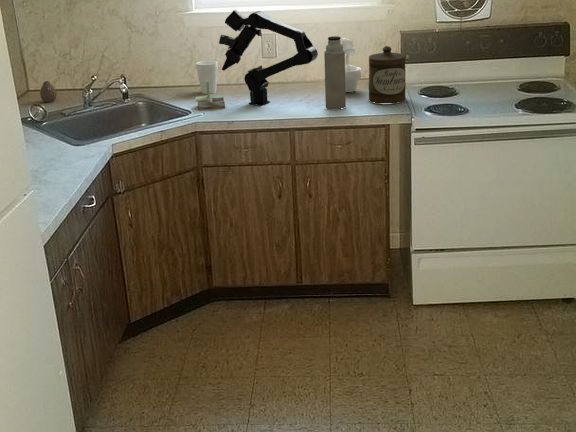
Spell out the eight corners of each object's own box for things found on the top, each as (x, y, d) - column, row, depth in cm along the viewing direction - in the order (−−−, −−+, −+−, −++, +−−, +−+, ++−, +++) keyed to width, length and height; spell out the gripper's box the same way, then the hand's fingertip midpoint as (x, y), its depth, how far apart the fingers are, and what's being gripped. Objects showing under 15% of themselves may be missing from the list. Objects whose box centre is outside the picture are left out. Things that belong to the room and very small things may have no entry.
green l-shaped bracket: (210, 97, 333) (208, 79, 330) (210, 100, 328) (209, 82, 325) (195, 98, 333) (194, 80, 330) (195, 101, 327) (194, 83, 324)
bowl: (212, 102, 334) (212, 97, 333) (212, 106, 329) (212, 101, 328) (197, 103, 334) (197, 98, 333) (198, 107, 328) (197, 102, 327)
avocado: (49, 99, 357) (46, 79, 353) (61, 100, 353) (58, 80, 350) (38, 102, 351) (34, 82, 348) (49, 104, 348) (46, 84, 345)
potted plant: (332, 89, 351) (331, 31, 342) (359, 87, 352) (358, 29, 342) (336, 96, 340) (335, 36, 330) (363, 94, 340) (363, 34, 331)
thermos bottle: (331, 104, 327) (329, 34, 317) (349, 106, 323) (348, 35, 313) (322, 108, 321) (320, 38, 310) (340, 110, 317) (338, 39, 307)
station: (224, 103, 336) (223, 96, 335) (225, 108, 328) (224, 101, 327) (198, 105, 335) (197, 98, 334) (198, 110, 327) (197, 103, 326)
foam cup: (218, 94, 352) (216, 64, 347) (197, 94, 352) (194, 65, 347) (220, 89, 361) (218, 60, 356) (199, 89, 361) (197, 60, 356)
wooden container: (374, 106, 322) (374, 51, 313) (364, 97, 335) (364, 44, 327) (410, 103, 324) (411, 48, 316) (398, 94, 337) (399, 41, 329)
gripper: (229, 23, 331) (208, 54, 336) (226, 30, 314) (203, 62, 319) (252, 39, 334) (230, 70, 338) (249, 47, 316) (226, 79, 321)
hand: (222, 69), depth 329 cm, fingers closed
